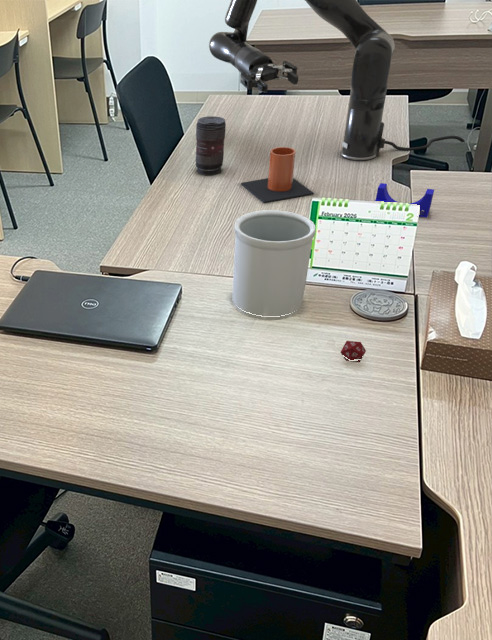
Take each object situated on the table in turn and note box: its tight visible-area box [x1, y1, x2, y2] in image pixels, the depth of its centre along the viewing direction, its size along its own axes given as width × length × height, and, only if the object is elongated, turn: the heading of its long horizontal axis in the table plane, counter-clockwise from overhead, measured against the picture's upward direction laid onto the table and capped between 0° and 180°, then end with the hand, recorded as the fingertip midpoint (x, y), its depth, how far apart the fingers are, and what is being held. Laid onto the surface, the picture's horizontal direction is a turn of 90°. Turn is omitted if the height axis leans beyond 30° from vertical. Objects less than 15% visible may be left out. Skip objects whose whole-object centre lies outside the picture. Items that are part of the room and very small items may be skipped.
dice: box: [340, 340, 367, 363], centre depth 125 cm, size 4×4×4 cm
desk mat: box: [240, 177, 315, 204], centre depth 191 cm, size 14×14×1 cm
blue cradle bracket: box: [374, 182, 435, 219], centre depth 171 cm, size 12×4×6 cm, turn 58°
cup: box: [267, 146, 297, 192], centre depth 188 cm, size 6×6×10 cm
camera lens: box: [195, 115, 227, 176], centre depth 202 cm, size 8×8×15 cm
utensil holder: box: [232, 209, 317, 321], centre depth 140 cm, size 15×15×18 cm
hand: (281, 85), depth 186 cm, fingers open, 8 cm apart
